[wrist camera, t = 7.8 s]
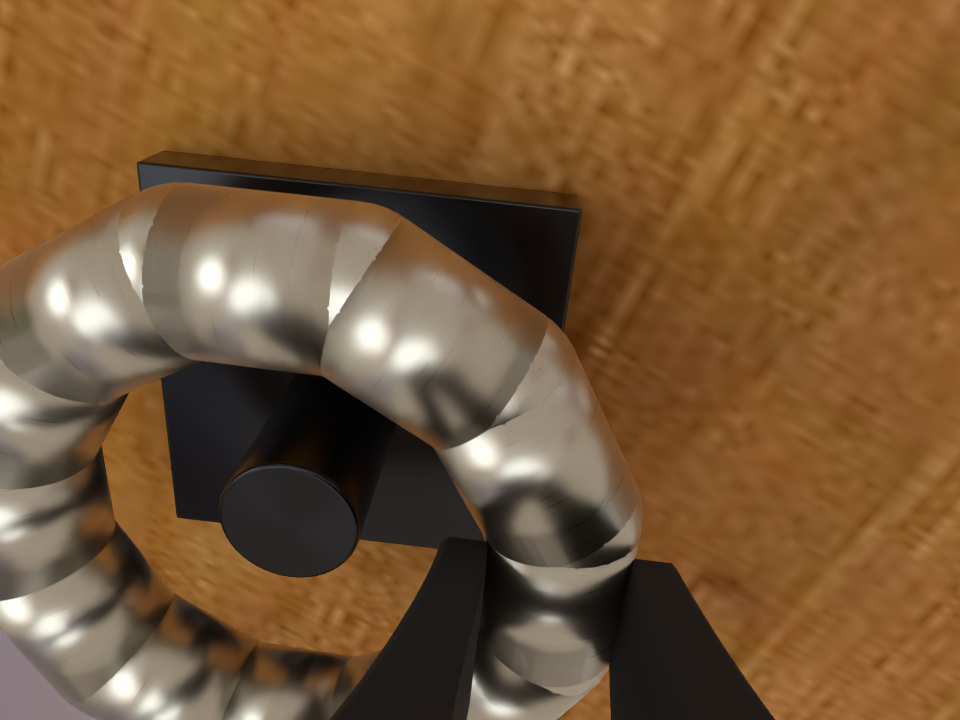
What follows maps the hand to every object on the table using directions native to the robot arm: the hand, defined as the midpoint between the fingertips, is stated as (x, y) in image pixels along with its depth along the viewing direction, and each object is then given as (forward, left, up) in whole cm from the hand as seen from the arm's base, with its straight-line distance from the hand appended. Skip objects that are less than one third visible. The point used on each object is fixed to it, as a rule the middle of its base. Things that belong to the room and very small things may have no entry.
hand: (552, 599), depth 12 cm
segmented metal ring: (0, +4, -1) cm, 4 cm away
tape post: (0, +4, -7) cm, 8 cm away
